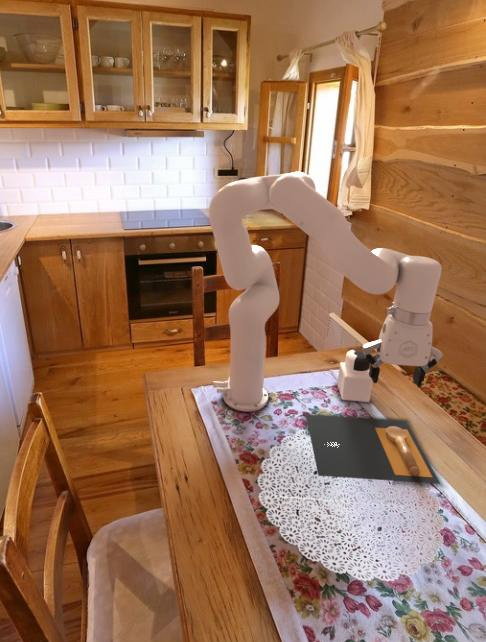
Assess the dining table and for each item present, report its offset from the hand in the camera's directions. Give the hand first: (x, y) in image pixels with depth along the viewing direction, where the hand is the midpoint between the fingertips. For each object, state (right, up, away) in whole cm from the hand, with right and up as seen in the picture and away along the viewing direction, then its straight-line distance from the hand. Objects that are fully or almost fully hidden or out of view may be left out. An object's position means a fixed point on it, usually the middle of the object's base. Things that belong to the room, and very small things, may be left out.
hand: (394, 381), depth 93 cm
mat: (-5, -17, +5) cm, 18 cm away
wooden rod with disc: (+3, -17, +4) cm, 18 cm away
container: (-2, -10, +25) cm, 27 cm away
